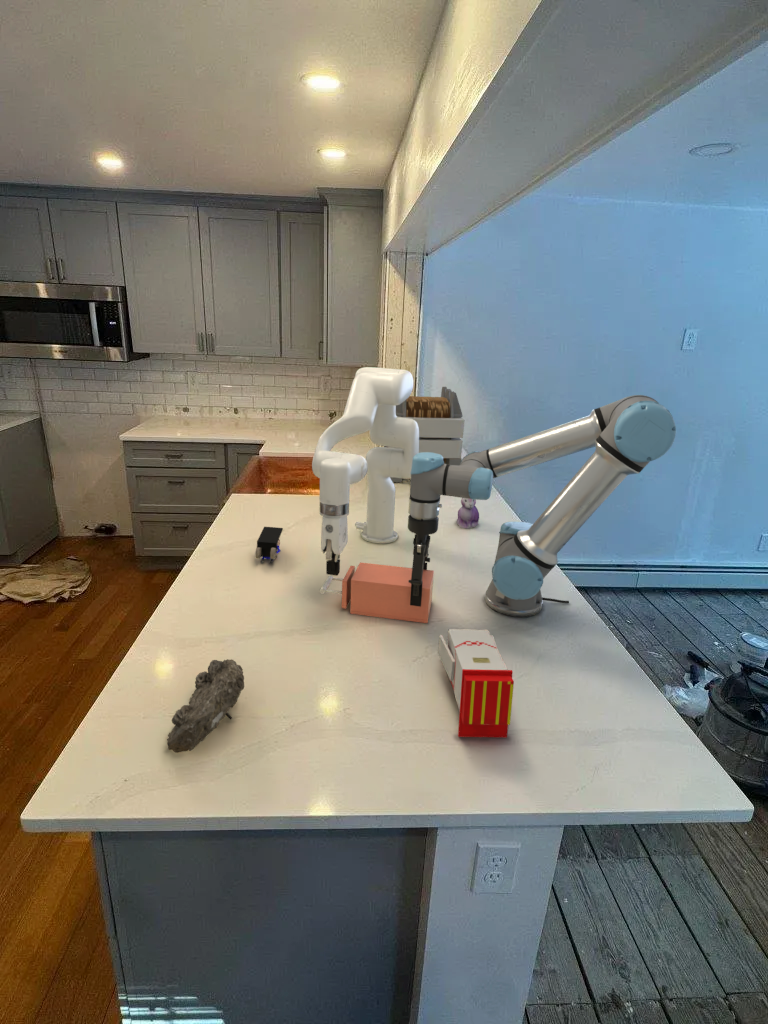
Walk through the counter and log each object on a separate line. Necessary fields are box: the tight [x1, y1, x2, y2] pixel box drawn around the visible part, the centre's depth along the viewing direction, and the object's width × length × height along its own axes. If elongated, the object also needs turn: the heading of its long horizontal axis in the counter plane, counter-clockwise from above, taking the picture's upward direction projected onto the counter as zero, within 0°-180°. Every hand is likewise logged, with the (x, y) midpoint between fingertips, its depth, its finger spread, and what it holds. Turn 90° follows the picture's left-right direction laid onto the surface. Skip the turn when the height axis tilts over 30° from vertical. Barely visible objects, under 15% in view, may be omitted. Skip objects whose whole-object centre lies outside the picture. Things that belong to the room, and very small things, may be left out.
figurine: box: [456, 498, 480, 529], centre depth 209 cm, size 9×10×15 cm
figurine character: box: [254, 526, 284, 564], centre depth 176 cm, size 7×8×15 cm
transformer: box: [383, 386, 465, 483], centre depth 268 cm, size 34×33×41 cm
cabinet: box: [349, 561, 435, 624], centre depth 149 cm, size 20×11×10 cm, turn 80°
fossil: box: [166, 658, 245, 754], centre depth 106 cm, size 22×10×15 cm
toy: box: [437, 628, 515, 738], centre depth 117 cm, size 12×13×30 cm
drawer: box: [319, 565, 356, 609], centre depth 149 cm, size 25×10×8 cm, turn 80°
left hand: (332, 573), depth 149 cm, fingers closed
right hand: (418, 594), depth 148 cm, fingers closed on cabinet, 11 cm apart
